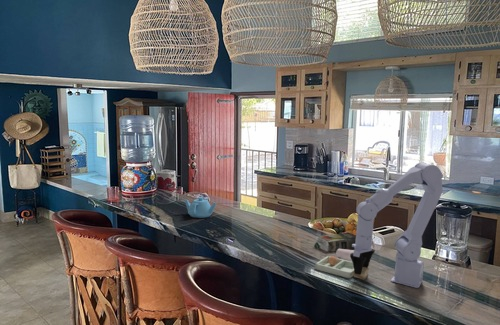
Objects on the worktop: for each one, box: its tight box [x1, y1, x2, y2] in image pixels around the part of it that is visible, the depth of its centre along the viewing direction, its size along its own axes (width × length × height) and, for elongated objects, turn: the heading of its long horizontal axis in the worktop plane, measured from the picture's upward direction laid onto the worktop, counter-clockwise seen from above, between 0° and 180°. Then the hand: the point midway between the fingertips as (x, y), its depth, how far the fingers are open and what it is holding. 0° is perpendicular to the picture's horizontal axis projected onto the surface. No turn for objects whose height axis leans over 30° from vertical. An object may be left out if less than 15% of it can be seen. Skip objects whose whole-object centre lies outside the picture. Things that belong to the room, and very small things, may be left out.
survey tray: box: [314, 255, 354, 279], centre depth 151 cm, size 14×12×3 cm
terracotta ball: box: [328, 255, 338, 265], centre depth 154 cm, size 4×4×4 cm
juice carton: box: [313, 232, 356, 253], centre depth 179 cm, size 20×10×6 cm, turn 117°
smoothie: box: [335, 249, 354, 262], centre depth 159 cm, size 6×6×14 cm
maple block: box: [353, 267, 369, 280], centre depth 144 cm, size 4×4×4 cm
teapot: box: [184, 196, 217, 219], centre depth 228 cm, size 15×15×11 cm
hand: (361, 270), depth 144 cm, fingers open, 7 cm apart
